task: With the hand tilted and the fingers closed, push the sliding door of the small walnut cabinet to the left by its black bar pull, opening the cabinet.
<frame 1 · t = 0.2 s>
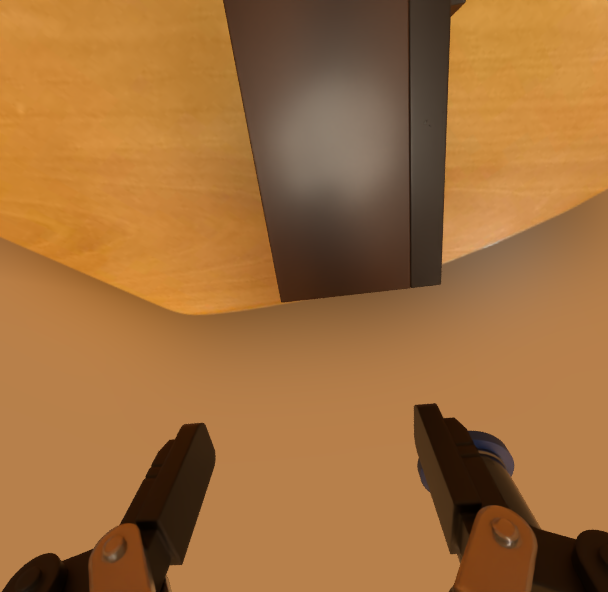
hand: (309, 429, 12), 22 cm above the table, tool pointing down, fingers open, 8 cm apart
cabinet: (325, 153, 28), on the table
door: (416, 69, 20), point 6 cm above the table, slide at 0.0 cm
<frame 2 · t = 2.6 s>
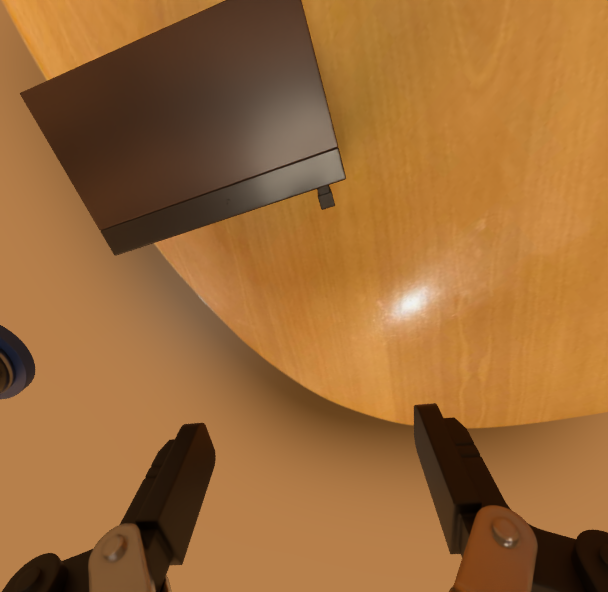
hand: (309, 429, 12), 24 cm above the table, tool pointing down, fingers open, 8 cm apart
cabinet: (233, 131, 29), on the table
door: (291, 191, 25), point 6 cm above the table, slide at 0.0 cm
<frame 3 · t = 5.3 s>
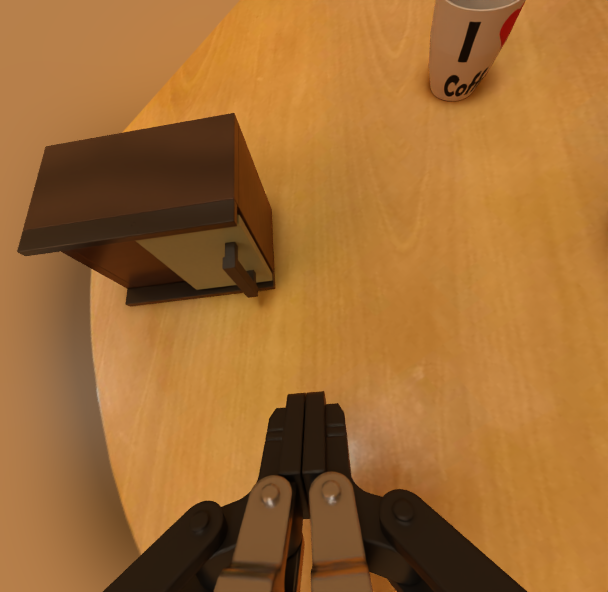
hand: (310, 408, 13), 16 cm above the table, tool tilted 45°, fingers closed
cup: (451, 87, 39), on the table
cabinet: (202, 249, 35), on the table
door: (213, 271, 27), point 6 cm above the table, slide at 0.0 cm
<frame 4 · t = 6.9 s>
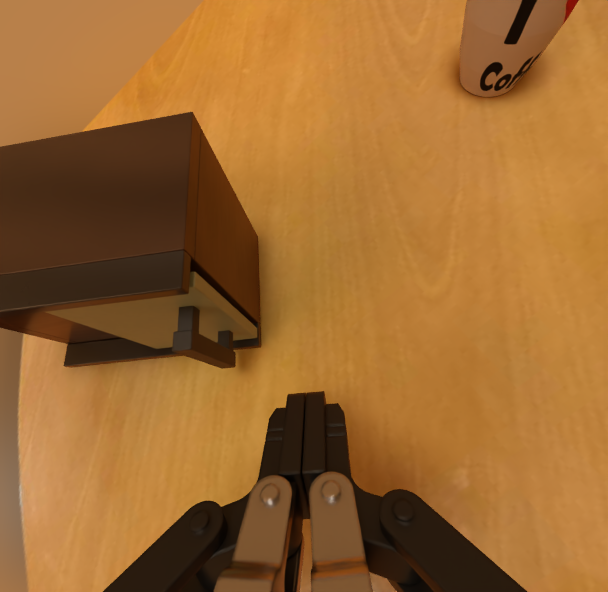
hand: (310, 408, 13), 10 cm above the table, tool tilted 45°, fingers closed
cup: (486, 79, 31), on the table
cabinet: (168, 289, 27), on the table
door: (169, 338, 19), point 6 cm above the table, slide at 0.0 cm
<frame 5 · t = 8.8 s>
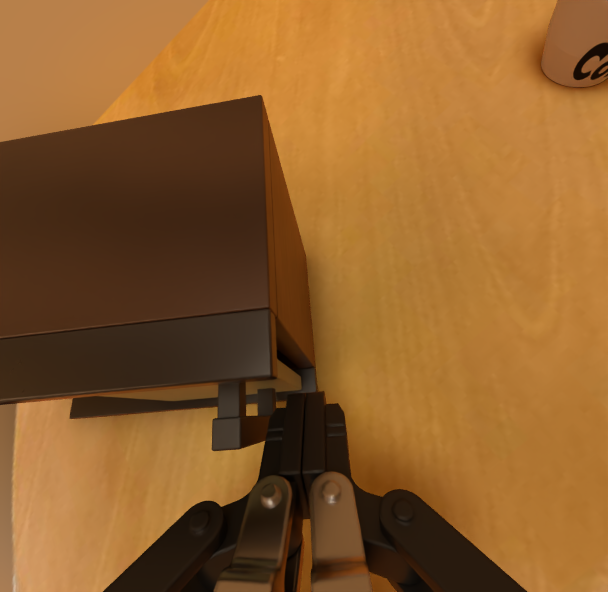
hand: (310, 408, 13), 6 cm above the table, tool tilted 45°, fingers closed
cup: (573, 67, 26), on the table
cabinet: (197, 321, 22), on the table
door: (197, 407, 14), point 6 cm above the table, slide at 0.8 cm, touching gripper
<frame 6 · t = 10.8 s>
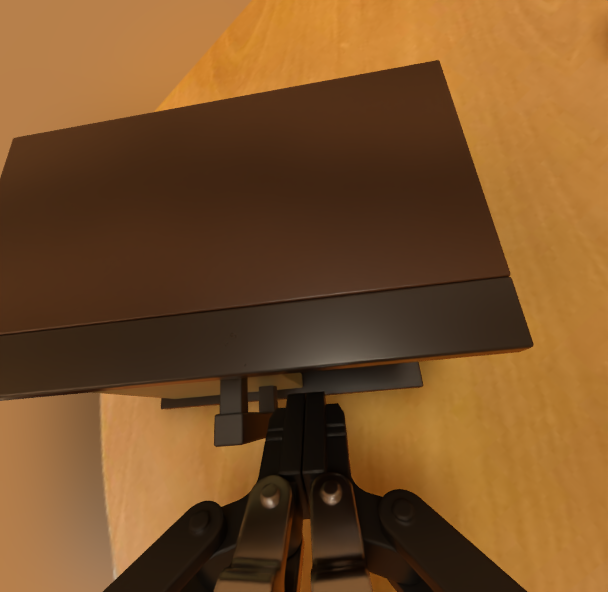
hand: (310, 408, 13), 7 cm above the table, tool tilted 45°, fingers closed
cabinet: (283, 309, 22), on the table
door: (199, 404, 14), point 6 cm above the table, slide at 6.9 cm
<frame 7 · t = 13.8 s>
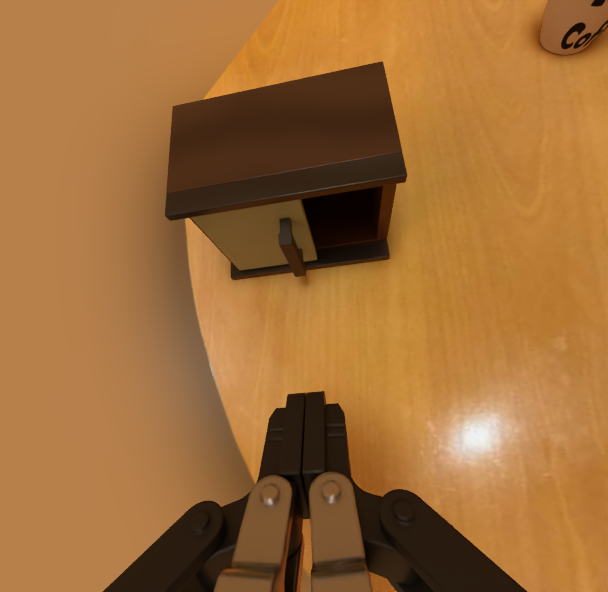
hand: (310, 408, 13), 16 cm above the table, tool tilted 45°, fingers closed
cup: (563, 39, 36), on the table
cabinet: (304, 220, 34), on the table
door: (263, 249, 27), point 6 cm above the table, slide at 6.9 cm
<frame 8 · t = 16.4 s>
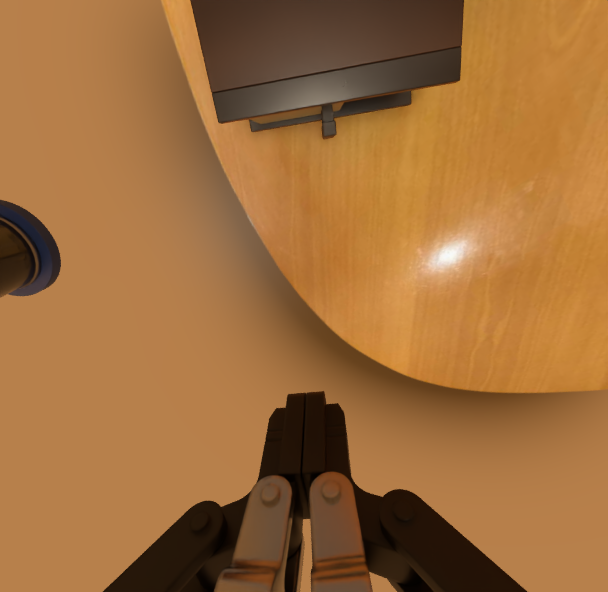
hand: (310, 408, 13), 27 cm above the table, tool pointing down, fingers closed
cabinet: (322, 49, 30), on the table
door: (297, 121, 27), point 6 cm above the table, slide at 6.9 cm
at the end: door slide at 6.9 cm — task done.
